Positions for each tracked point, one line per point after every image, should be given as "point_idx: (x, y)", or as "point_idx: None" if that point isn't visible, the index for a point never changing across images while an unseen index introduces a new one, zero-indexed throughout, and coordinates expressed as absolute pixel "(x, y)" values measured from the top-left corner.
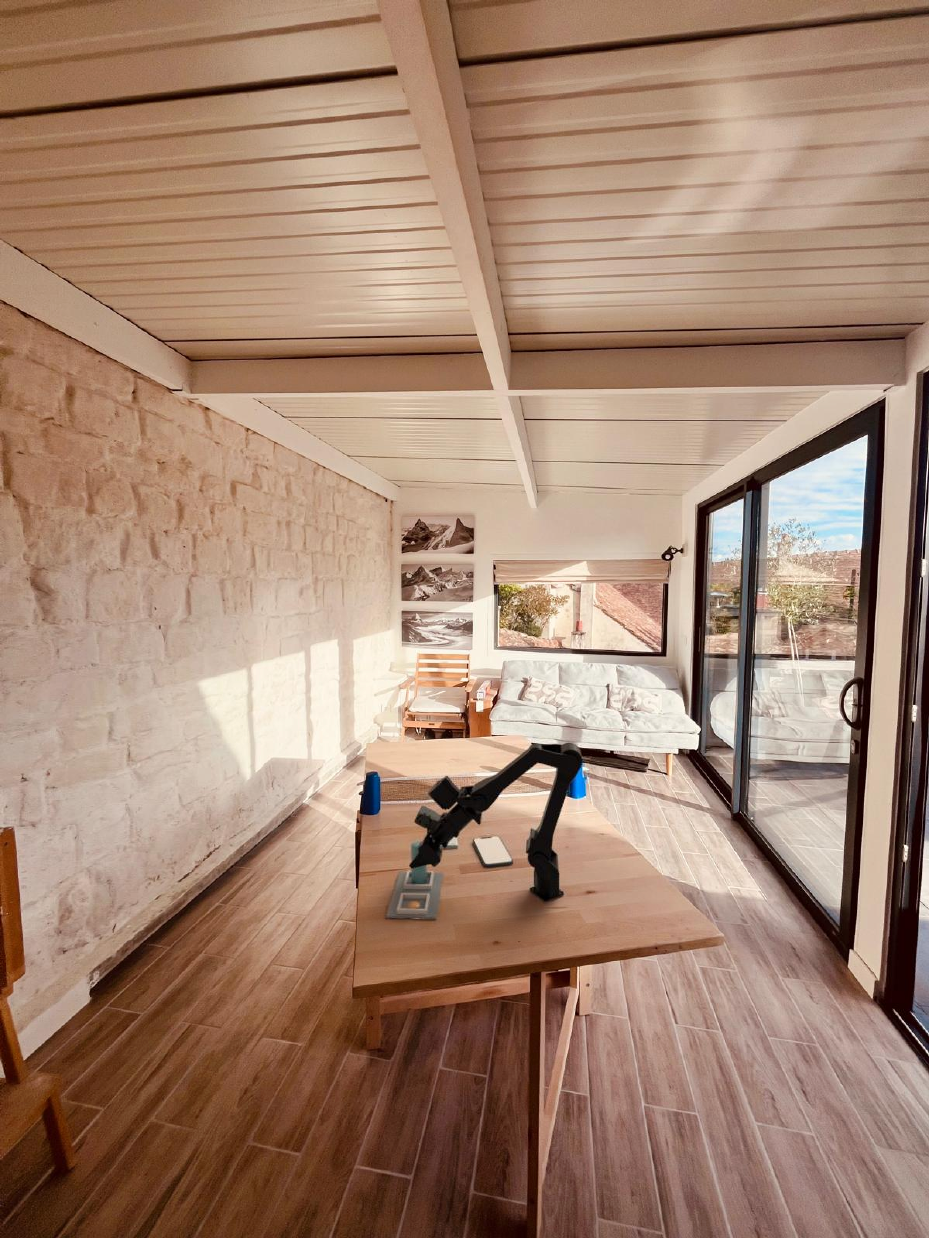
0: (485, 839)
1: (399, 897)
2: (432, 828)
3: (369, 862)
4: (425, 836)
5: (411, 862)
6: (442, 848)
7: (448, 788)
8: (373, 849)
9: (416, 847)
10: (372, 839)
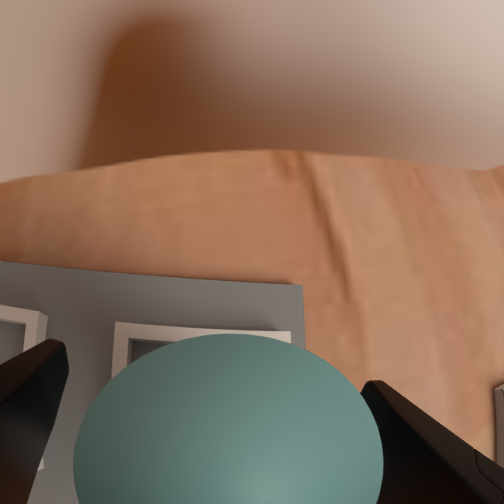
0: None
1: (44, 306)
2: None
3: (370, 158)
4: (497, 479)
5: (11, 358)
6: (498, 435)
7: None
8: (445, 174)
9: (124, 452)
10: (483, 174)
